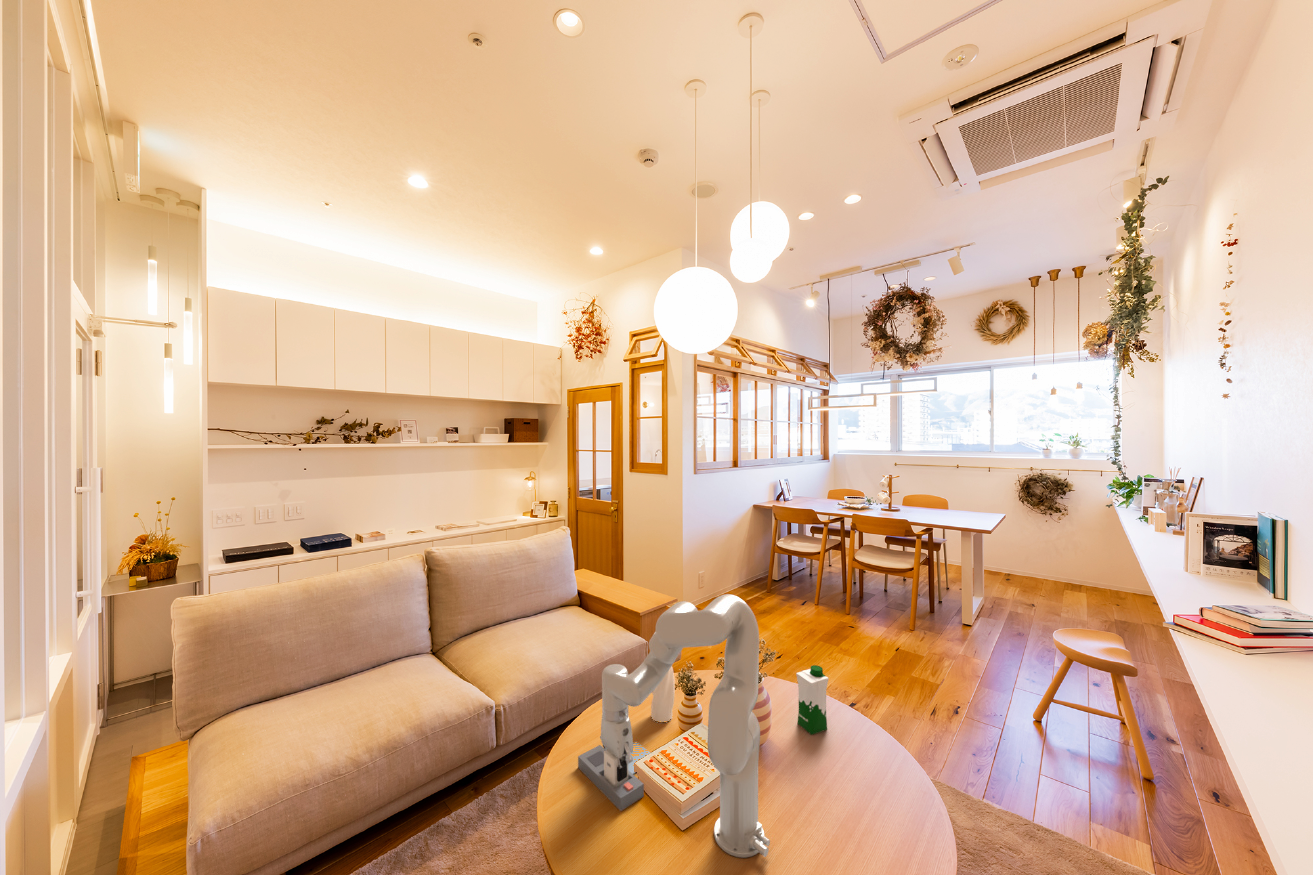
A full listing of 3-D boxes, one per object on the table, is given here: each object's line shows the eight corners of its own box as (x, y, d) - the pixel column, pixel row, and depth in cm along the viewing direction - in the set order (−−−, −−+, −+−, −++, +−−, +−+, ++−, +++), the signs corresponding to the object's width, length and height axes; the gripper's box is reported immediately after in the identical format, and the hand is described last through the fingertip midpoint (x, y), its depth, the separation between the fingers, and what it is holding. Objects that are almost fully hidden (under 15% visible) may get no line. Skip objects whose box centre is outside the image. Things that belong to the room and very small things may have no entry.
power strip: (643, 796, 132) (643, 782, 132) (620, 811, 127) (620, 796, 127) (600, 755, 149) (599, 743, 149) (578, 767, 143) (578, 754, 143)
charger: (628, 780, 135) (628, 752, 135) (614, 788, 132) (613, 760, 132) (618, 770, 139) (617, 743, 139) (604, 779, 135) (603, 751, 135)
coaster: (657, 760, 146) (657, 758, 146) (629, 776, 139) (629, 775, 139) (635, 742, 155) (635, 741, 155) (608, 757, 148) (608, 756, 148)
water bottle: (674, 726, 163) (674, 646, 163) (649, 726, 163) (648, 646, 163) (674, 709, 173) (674, 634, 173) (650, 709, 174) (649, 634, 173)
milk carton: (831, 730, 161) (831, 672, 161) (811, 737, 157) (810, 678, 157) (812, 716, 169) (812, 661, 169) (793, 722, 165) (793, 666, 165)
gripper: (644, 718, 131) (644, 783, 131) (609, 693, 144) (610, 752, 144) (622, 729, 126) (623, 797, 126) (588, 703, 139) (589, 764, 139)
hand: (616, 772), depth 135 cm, fingers closed on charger, 5 cm apart
